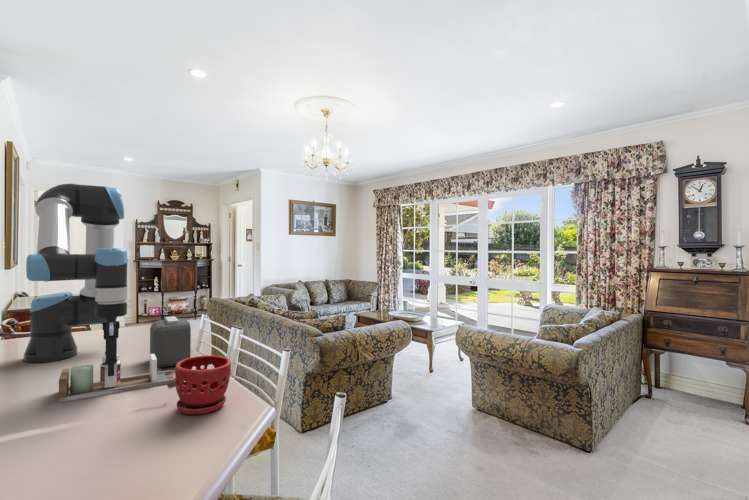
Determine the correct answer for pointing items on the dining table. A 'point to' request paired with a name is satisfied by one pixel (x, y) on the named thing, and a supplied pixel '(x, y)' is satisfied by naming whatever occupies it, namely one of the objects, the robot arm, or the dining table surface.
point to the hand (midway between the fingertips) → (110, 383)
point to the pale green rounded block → (81, 379)
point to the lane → (124, 385)
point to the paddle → (155, 370)
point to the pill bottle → (102, 371)
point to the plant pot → (202, 383)
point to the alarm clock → (170, 341)
